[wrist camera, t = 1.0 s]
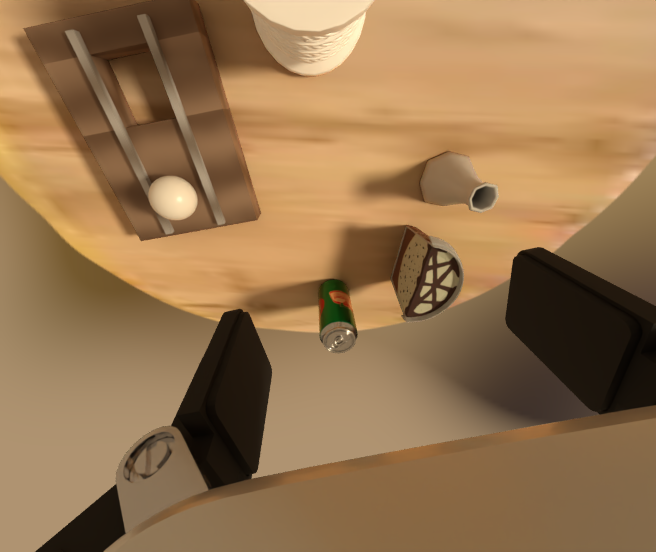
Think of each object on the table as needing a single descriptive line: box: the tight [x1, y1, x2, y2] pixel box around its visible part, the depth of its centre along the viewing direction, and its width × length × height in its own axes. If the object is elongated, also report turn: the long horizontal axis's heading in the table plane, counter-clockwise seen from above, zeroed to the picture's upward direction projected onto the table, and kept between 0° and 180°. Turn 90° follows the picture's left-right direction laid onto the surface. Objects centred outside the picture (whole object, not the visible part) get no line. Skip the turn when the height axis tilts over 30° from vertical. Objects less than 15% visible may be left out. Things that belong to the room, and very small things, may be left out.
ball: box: [148, 176, 198, 220], centre depth 32 cm, size 5×5×5 cm
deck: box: [23, 0, 261, 241], centre depth 32 cm, size 22×16×4 cm
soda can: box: [318, 280, 357, 353], centre depth 41 cm, size 5×5×12 cm
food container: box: [390, 225, 464, 322], centre depth 40 cm, size 12×6×10 cm, turn 172°
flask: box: [420, 151, 499, 213], centre depth 34 cm, size 7×7×10 cm
